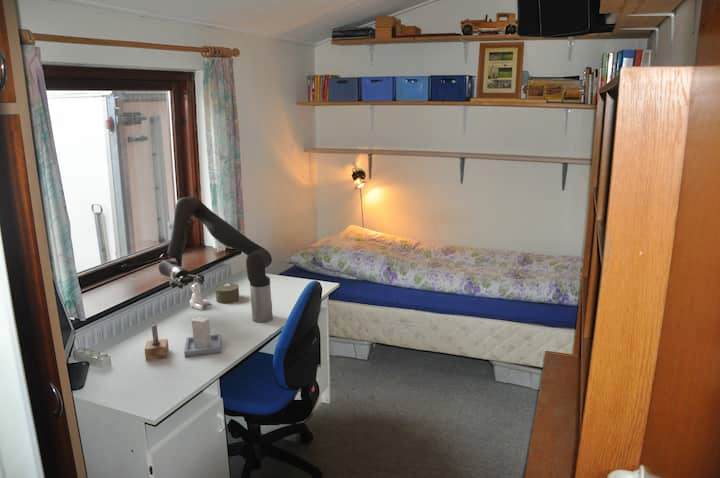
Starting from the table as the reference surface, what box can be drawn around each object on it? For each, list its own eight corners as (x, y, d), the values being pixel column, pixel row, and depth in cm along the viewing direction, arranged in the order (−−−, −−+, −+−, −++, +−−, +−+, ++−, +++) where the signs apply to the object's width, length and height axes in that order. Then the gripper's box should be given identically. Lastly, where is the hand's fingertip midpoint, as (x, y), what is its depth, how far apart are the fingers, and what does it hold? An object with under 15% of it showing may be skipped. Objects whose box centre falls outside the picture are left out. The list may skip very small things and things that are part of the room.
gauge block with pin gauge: (168, 349, 233) (165, 320, 230) (166, 358, 226) (163, 328, 223) (148, 352, 232) (144, 322, 228) (145, 360, 224) (142, 330, 221)
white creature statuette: (201, 310, 276) (199, 287, 273) (185, 309, 277) (183, 286, 274) (210, 303, 285) (208, 281, 282) (195, 302, 286) (192, 280, 283)
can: (215, 304, 283) (214, 291, 282) (216, 296, 295) (215, 284, 293) (239, 302, 285) (238, 290, 283) (240, 294, 297) (239, 282, 295)
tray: (220, 339, 243) (220, 333, 242) (220, 353, 230) (220, 347, 229) (187, 342, 240) (186, 337, 239) (184, 357, 226) (184, 351, 226)
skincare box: (212, 345, 235) (209, 318, 232) (206, 349, 232) (203, 322, 228) (199, 343, 237) (197, 316, 234) (193, 347, 234) (191, 320, 231)
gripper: (163, 271, 251) (174, 279, 237) (195, 264, 258) (207, 272, 245) (166, 287, 252) (176, 296, 239) (197, 280, 260) (209, 289, 247)
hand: (191, 284), depth 242 cm, fingers open, 8 cm apart
